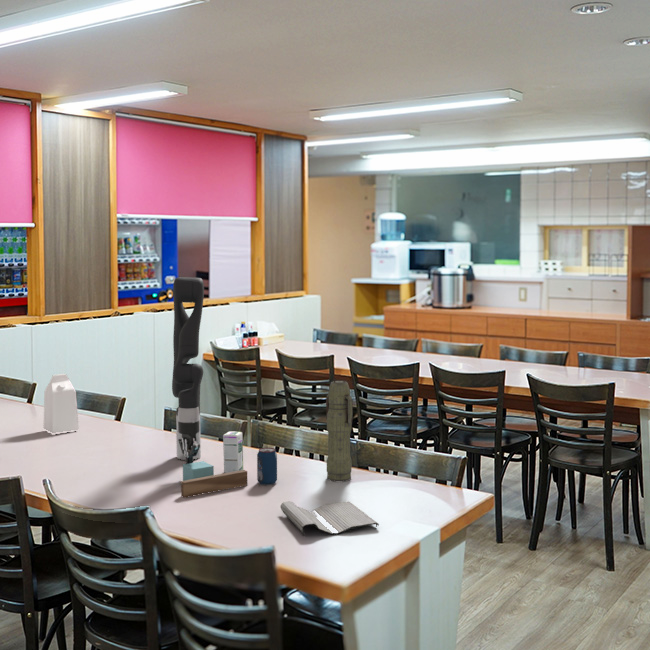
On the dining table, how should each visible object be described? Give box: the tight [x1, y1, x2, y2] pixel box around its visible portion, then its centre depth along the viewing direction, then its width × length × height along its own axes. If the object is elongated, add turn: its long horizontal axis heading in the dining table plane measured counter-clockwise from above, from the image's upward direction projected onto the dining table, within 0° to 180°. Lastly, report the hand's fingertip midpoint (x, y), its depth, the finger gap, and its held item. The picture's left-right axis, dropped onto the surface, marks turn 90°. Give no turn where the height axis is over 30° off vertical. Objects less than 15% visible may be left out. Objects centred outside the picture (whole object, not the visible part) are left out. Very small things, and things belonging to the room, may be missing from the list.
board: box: [180, 469, 248, 498], centre depth 267 cm, size 2×24×5 cm, turn 127°
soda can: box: [256, 447, 278, 486], centre depth 275 cm, size 7×7×12 cm
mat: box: [280, 500, 380, 535], centre depth 236 cm, size 23×24×5 cm
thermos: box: [325, 379, 354, 482], centre depth 281 cm, size 9×12×35 cm
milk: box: [43, 373, 80, 433], centre depth 356 cm, size 12×12×26 cm
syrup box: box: [222, 430, 244, 473], centre depth 290 cm, size 6×6×14 cm
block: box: [182, 460, 215, 481], centre depth 277 cm, size 8×8×6 cm
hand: (189, 467), depth 281 cm, fingers closed
